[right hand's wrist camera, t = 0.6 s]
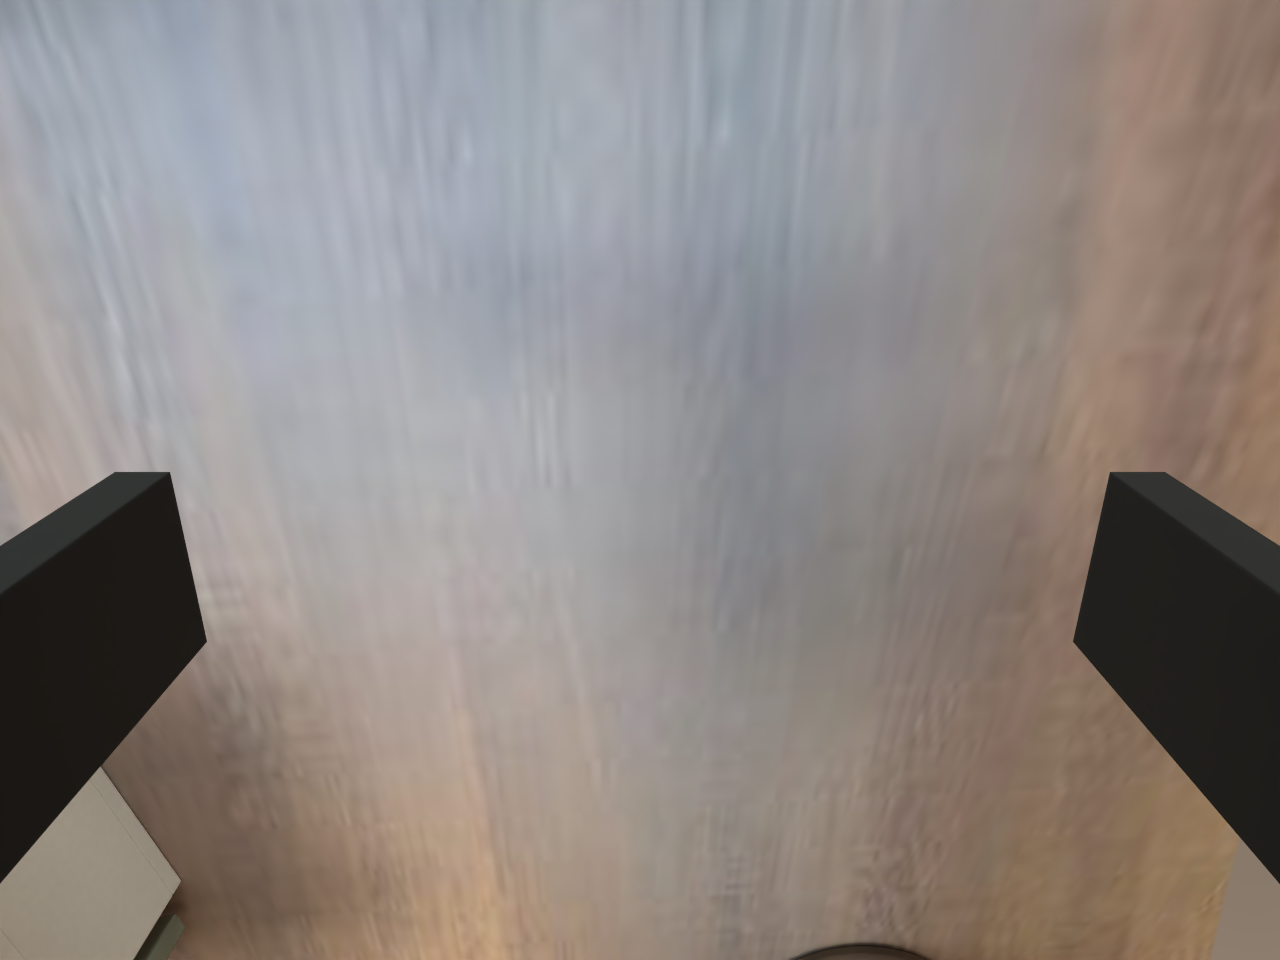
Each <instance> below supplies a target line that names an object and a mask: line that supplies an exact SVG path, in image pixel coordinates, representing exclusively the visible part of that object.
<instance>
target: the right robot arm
mask: <svg viewBox="0 0 1280 960" xmlns="http://www.w3.org/2000/svg"><path fill="white" fill-rule="evenodd" d="M206 642H207V640H206V635H205V631H204V626H203V621H202V617H201V612H200V608H199V603H198V598H197V594H196V589H195V585H194V580H193V576H192V571H191V566H190V562H189V557H188V553H187V548H186V543H185V539H184V534H183V530H182V525H181V521H180V516H179V511H178V507H177V502H176V498H175V493H174V488H173V484H172V479H171V475H170V472H114V473H113V474H111V475H110V476H108V477H107V478H105V479H104V480H102V481H101V482H99V483H97V484H96V485H94V486H93V487H91V488H90V489H88V490H87V491H85V492H83V493H82V494H80V495H79V496H77V497H76V498H74V499H73V500H71V501H69V502H68V503H66V504H65V505H63V506H62V507H60V508H59V509H57V510H56V511H54V512H52V513H51V514H49V515H48V516H46V517H45V518H43V519H42V520H40V521H38V522H37V523H35V524H34V525H32V526H31V527H29V528H28V529H26V530H24V531H23V532H21V533H20V534H18V535H17V536H15V537H14V538H12V539H10V540H9V541H7V542H6V543H4V544H3V545H1V546H0V884H1V882H2V881H3V880H4V879H5V878H6V876H7V875H8V874H9V873H10V872H11V871H12V869H13V868H14V867H15V866H16V865H17V864H18V862H19V861H20V860H21V859H22V858H23V857H24V855H25V854H26V853H27V852H28V851H29V850H30V848H31V847H32V846H33V845H34V844H35V842H36V841H37V840H38V839H39V838H40V837H41V835H42V834H43V833H44V832H45V831H46V830H47V828H48V827H49V826H50V825H51V824H52V823H53V821H54V820H55V819H56V818H57V817H58V816H59V814H60V813H61V812H62V811H63V810H64V808H65V807H66V806H67V805H68V804H69V803H70V801H71V800H72V799H73V798H74V797H75V796H76V794H77V793H78V792H79V791H80V790H81V789H82V787H83V786H84V785H85V784H86V783H87V782H88V780H89V779H90V778H91V777H92V776H93V775H94V773H95V772H96V771H97V770H98V769H99V767H100V766H101V765H102V764H103V763H104V762H105V760H106V759H107V758H108V757H109V756H110V755H111V753H112V752H113V751H114V750H115V749H116V748H117V746H118V745H119V744H120V743H121V742H122V741H123V739H124V738H125V737H126V736H127V735H128V733H129V732H130V731H131V730H132V729H133V728H134V726H135V725H136V724H137V723H138V722H139V721H140V719H141V718H142V717H143V716H144V715H145V714H146V712H147V711H148V710H149V709H150V708H151V707H152V705H153V704H154V703H155V702H156V701H157V699H158V698H159V697H160V696H161V695H162V694H163V692H164V691H165V690H166V689H167V688H168V687H169V685H170V684H171V683H172V682H173V681H174V680H175V678H176V677H177V676H178V675H179V674H180V673H181V671H182V670H183V669H184V668H185V667H186V666H187V664H188V663H189V662H190V661H191V660H192V658H193V657H194V656H195V655H196V654H197V653H198V651H199V650H200V649H201V648H202V647H203V646H204V644H205V643H206ZM1073 642H1074V643H1075V644H1076V646H1077V647H1078V648H1079V649H1080V650H1081V651H1082V653H1083V654H1084V655H1085V656H1086V657H1087V658H1088V660H1089V661H1090V662H1091V663H1092V664H1093V666H1094V667H1095V668H1096V669H1097V670H1098V671H1099V673H1100V674H1101V675H1102V676H1103V677H1104V678H1105V680H1106V681H1107V682H1108V683H1109V684H1110V685H1111V687H1112V688H1113V689H1114V690H1115V691H1116V692H1117V694H1118V695H1119V696H1120V697H1121V698H1122V700H1123V701H1124V702H1125V703H1126V704H1127V705H1128V707H1129V708H1130V709H1131V710H1132V711H1133V712H1134V714H1135V715H1136V716H1137V717H1138V718H1139V719H1140V721H1141V722H1142V723H1143V724H1144V725H1145V726H1146V728H1147V729H1148V730H1149V731H1150V732H1151V733H1152V735H1153V736H1154V737H1155V738H1156V739H1157V741H1158V742H1159V743H1160V744H1161V745H1162V746H1163V748H1164V749H1165V750H1166V751H1167V752H1168V753H1169V755H1170V756H1171V757H1172V758H1173V759H1174V760H1175V762H1176V763H1177V764H1178V765H1179V766H1180V767H1181V769H1182V770H1183V771H1184V772H1185V773H1186V775H1187V776H1188V777H1189V778H1190V779H1191V780H1192V782H1193V783H1194V784H1195V785H1196V786H1197V787H1198V789H1199V790H1200V791H1201V792H1202V793H1203V794H1204V796H1205V797H1206V798H1207V799H1208V800H1209V801H1210V803H1211V804H1212V805H1213V806H1214V807H1215V808H1216V810H1217V811H1218V812H1219V813H1220V814H1221V816H1222V817H1223V818H1224V819H1225V820H1226V821H1227V823H1228V824H1229V825H1230V826H1231V827H1232V828H1233V830H1234V831H1235V832H1236V833H1237V834H1238V835H1239V837H1240V838H1241V839H1242V840H1243V841H1244V842H1245V844H1246V845H1247V846H1248V847H1249V848H1250V850H1251V851H1252V852H1253V853H1254V854H1255V855H1256V857H1257V858H1258V859H1259V860H1260V861H1261V862H1262V864H1263V865H1264V866H1265V867H1266V868H1267V869H1268V871H1269V872H1270V873H1271V874H1272V875H1273V876H1274V878H1275V879H1276V880H1277V881H1278V882H1279V884H1280V546H1279V545H1277V544H1276V543H1274V542H1273V541H1271V540H1270V539H1268V538H1266V537H1265V536H1263V535H1262V534H1260V533H1259V532H1257V531H1256V530H1254V529H1252V528H1251V527H1249V526H1248V525H1246V524H1245V523H1243V522H1242V521H1240V520H1238V519H1237V518H1235V517H1234V516H1232V515H1231V514H1229V513H1228V512H1226V511H1224V510H1223V509H1221V508H1220V507H1218V506H1217V505H1215V504H1214V503H1212V502H1211V501H1209V500H1207V499H1206V498H1204V497H1203V496H1201V495H1200V494H1198V493H1197V492H1195V491H1193V490H1192V489H1190V488H1189V487H1187V486H1186V485H1184V484H1183V483H1181V482H1179V481H1178V480H1176V479H1175V478H1173V477H1172V476H1170V475H1169V474H1167V473H1166V472H1110V475H1109V479H1108V484H1107V488H1106V493H1105V498H1104V502H1103V507H1102V511H1101V516H1100V521H1099V525H1098V530H1097V534H1096V539H1095V543H1094V548H1093V553H1092V557H1091V562H1090V566H1089V571H1088V576H1087V580H1086V585H1085V589H1084V594H1083V598H1082V603H1081V608H1080V612H1079V617H1078V621H1077V626H1076V631H1075V635H1074V640H1073ZM797 960H926V959H923V958H921V957H919V956H916V955H913V954H911V953H907V952H904V951H900V950H895V949H890V948H883V947H871V946H854V947H842V948H835V949H830V950H825V951H821V952H817V953H813V954H810V955H807V956H804V957H802V958H799V959H797Z"/></svg>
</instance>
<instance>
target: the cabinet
mask: <svg viewBox="0 0 1280 960" xmlns="http://www.w3.org/2000/svg"><path fill="white" fill-rule="evenodd" d="M180 882H181V880H180V878H179V877H178V876H177V874H176V873H175V871H174V870H173V868H172V867H171V866H170V864H169V863H168V861H167V860H166V859H165V857H164V856H163V854H162V853H161V851H160V850H159V849H158V847H157V846H156V844H155V843H154V842H153V840H152V839H151V837H150V836H149V834H148V833H147V832H146V830H145V829H144V827H143V826H142V825H141V823H140V822H139V820H138V819H137V817H136V816H135V815H134V813H133V812H132V810H131V809H130V808H129V806H128V805H127V803H126V802H125V800H124V799H123V798H122V796H121V795H120V793H119V792H118V791H117V789H116V788H115V786H114V785H113V783H112V782H111V781H110V779H109V778H108V776H107V775H106V774H105V772H104V771H103V769H102V768H101V766H100V767H99V769H98V770H97V771H96V772H95V773H94V775H93V776H92V777H91V778H90V779H89V780H88V782H87V783H86V784H85V785H84V786H83V787H82V789H81V790H80V791H79V792H78V793H77V794H76V796H75V797H74V798H73V799H72V800H71V801H70V803H69V804H68V805H67V806H66V807H65V808H64V810H63V811H62V812H61V813H60V814H59V816H58V817H57V818H56V819H55V820H54V821H53V823H52V824H51V825H50V826H49V827H48V828H47V830H46V831H45V832H44V833H43V834H42V835H41V837H40V838H39V839H38V840H37V841H36V842H35V844H34V845H33V846H32V847H31V848H30V850H29V851H28V852H27V853H26V854H25V855H24V857H23V858H22V859H21V860H20V861H19V862H18V864H17V865H16V866H15V867H14V868H13V869H12V871H11V872H10V873H9V874H8V875H7V876H6V878H5V879H4V880H3V881H2V882H1V884H0V960H133V959H134V958H135V956H136V955H137V953H138V951H139V950H140V948H141V946H142V945H143V943H144V941H145V940H146V938H147V937H148V935H149V933H150V932H151V930H152V928H153V927H154V925H155V923H156V922H157V920H158V919H159V917H160V915H161V914H162V912H163V910H164V909H165V907H166V905H167V904H168V902H169V901H170V899H171V897H172V894H174V892H175V891H176V889H177V887H178V886H179V884H180Z"/></svg>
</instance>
